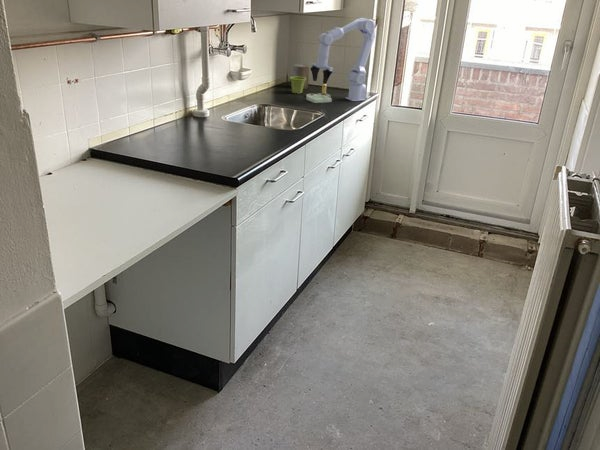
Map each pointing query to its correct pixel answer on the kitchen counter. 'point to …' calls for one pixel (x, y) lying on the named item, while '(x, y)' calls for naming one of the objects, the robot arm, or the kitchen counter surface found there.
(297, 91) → the plant pot
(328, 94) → the tensioner socket
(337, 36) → the robot arm
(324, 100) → the tray
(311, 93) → the idler pulley
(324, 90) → the lock pin
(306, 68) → the pillar candle
